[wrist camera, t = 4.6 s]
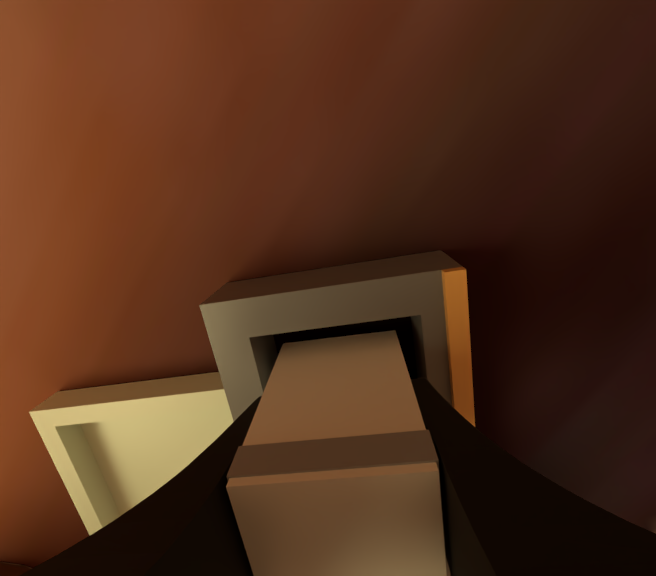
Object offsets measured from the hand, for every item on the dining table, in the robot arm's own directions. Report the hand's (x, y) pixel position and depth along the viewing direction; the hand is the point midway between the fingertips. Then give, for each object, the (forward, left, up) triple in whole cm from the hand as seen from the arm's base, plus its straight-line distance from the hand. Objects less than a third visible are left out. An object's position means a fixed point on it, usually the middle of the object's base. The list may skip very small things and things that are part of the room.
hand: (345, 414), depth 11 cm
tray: (-5, +8, -3) cm, 10 cm away
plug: (0, 0, -2) cm, 2 cm away
